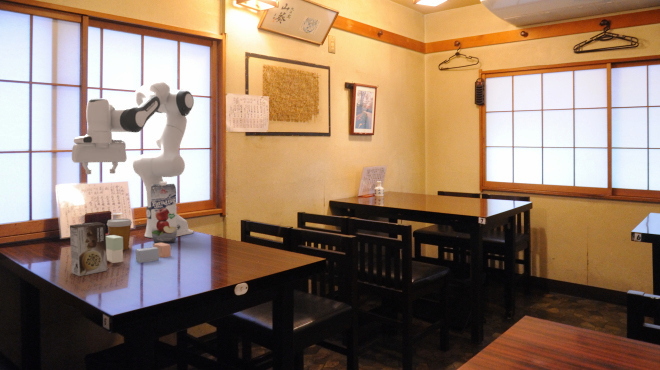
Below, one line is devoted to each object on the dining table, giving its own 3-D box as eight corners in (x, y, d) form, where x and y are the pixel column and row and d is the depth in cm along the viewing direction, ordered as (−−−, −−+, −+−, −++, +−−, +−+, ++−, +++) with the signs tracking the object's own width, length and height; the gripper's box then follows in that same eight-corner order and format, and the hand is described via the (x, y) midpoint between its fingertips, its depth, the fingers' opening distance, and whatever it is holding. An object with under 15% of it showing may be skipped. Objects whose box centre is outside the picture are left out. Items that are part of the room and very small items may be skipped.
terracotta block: (161, 253, 185) (161, 242, 184) (170, 256, 180) (170, 244, 180) (153, 255, 182) (152, 243, 182) (162, 257, 178) (162, 246, 177)
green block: (114, 246, 176) (113, 234, 175) (123, 249, 171) (122, 237, 171) (104, 248, 173) (104, 236, 173) (113, 250, 168) (113, 238, 168)
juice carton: (152, 240, 211) (151, 180, 209) (177, 239, 214) (176, 180, 212) (151, 244, 202) (149, 182, 200) (177, 243, 205) (175, 181, 204)
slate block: (136, 261, 172) (135, 249, 171) (155, 258, 176) (155, 246, 176) (139, 263, 169) (139, 250, 169) (158, 260, 173) (158, 248, 173)
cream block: (115, 258, 176) (115, 246, 176) (123, 261, 171) (122, 249, 171) (106, 260, 174) (105, 248, 173) (113, 263, 169) (112, 250, 168)
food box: (98, 267, 162) (97, 221, 160) (107, 271, 157) (106, 223, 156) (70, 273, 154) (69, 224, 153) (79, 276, 150) (77, 226, 149)
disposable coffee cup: (137, 246, 197) (136, 218, 196) (125, 251, 188) (124, 221, 187) (115, 246, 198) (114, 218, 197) (102, 251, 189) (101, 221, 188)
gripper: (121, 139, 196) (122, 172, 197) (69, 138, 181) (70, 174, 182) (128, 139, 192) (129, 173, 193) (75, 138, 177) (77, 175, 178)
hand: (100, 173), depth 187 cm, fingers open, 8 cm apart
